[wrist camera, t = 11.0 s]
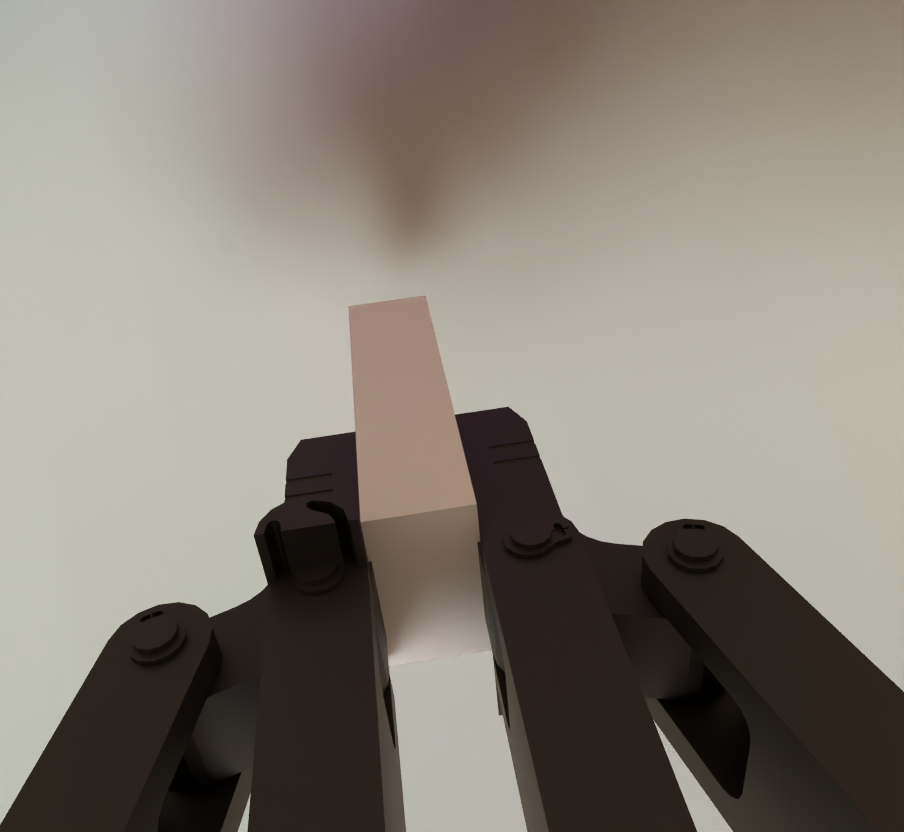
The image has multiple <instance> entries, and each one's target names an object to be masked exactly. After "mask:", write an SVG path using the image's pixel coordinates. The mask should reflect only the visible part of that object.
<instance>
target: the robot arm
mask: <svg viewBox="0 0 904 832" xmlns="http://www.w3.org/2000/svg"><path fill="white" fill-rule="evenodd" d="M349 321H350V339H351V358H352V376H353V394H354V413H355V431H356V432H351V433H344V434H337V435H331V436H324V437H317V438H311V439H304V440H301V441H300V442H299V444H298V445H297V447H296V448H295V449H294V451H293V452H292V454H291V455H290V457H289V458H288V459H287V473H286V483H287V484H286V488H285V502H284V503H283V504H281V505H279V506H277V507H276V508H274V509H272V510H271V511H270V512H269V513H268V514H267V515H266V516H265V517H264V518H263V519H262V520H261V521H260V522H259V524H258V526H257V529H256V531H255V534H254V538H255V541H256V545H257V548H258V552H259V555H260V558H261V562H262V565H263V569H264V572H265V575H266V579H267V582H268V585H267V586H266V587H265V589H264V590H263V591H261V592H260V593H259V594H257V595H256V596H255V597H253V598H252V599H251V600H249V601H247V602H245V603H243V604H241V605H239V606H237V607H235V608H232V609H230V610H227V611H225V612H222V613H220V614H218V615H215V616H213V617H210V618H209V617H208V614H207V613H206V612H204V611H203V610H201V609H200V608H199V607H197V606H196V605H191V604H185V603H180V602H177V603H169V604H162V605H157V606H155V607H152V608H150V609H147V610H145V611H142V612H140V613H138V614H136V615H135V616H134V617H132V618H131V619H129V620H128V621H126V622H125V623H124V624H122V625H121V626H120V627H119V628H118V629H117V631H116V632H115V633H114V634H113V635H112V637H111V638H110V639H109V640H108V642H107V644H106V645H105V647H104V649H103V650H102V652H101V654H100V656H99V657H98V659H97V661H96V662H95V664H94V666H93V668H92V669H91V671H90V673H89V674H88V676H87V678H86V679H85V681H84V683H83V685H82V686H81V688H80V690H79V691H78V693H77V695H76V697H75V698H74V700H73V702H72V703H71V705H70V707H69V709H68V710H67V712H66V714H65V715H64V717H63V719H62V720H61V722H60V724H59V726H58V727H57V729H56V731H55V732H54V734H53V736H52V738H51V739H50V741H49V743H48V744H47V746H46V748H45V750H44V751H43V753H42V755H41V756H40V758H39V760H38V761H37V763H36V765H35V767H34V768H33V770H32V772H31V773H30V775H29V777H28V779H27V780H26V782H25V784H24V785H23V787H22V789H21V791H20V792H19V794H18V796H17V797H16V799H15V801H14V802H13V804H12V806H11V808H10V809H9V811H8V813H7V814H6V816H5V818H4V820H3V821H2V823H1V825H0V832H238V829H239V826H240V823H241V820H242V817H243V814H244V811H245V808H246V805H247V802H248V799H249V796H250V793H251V797H250V809H249V822H248V832H406V826H405V815H404V804H403V792H402V781H401V769H400V758H399V747H398V735H397V724H396V712H395V701H394V694H393V689H392V684H391V679H390V674H389V667H391V666H397V665H403V664H409V663H415V662H421V661H427V660H433V659H439V658H445V657H451V656H457V655H463V654H469V653H475V652H481V651H487V650H491V648H492V652H493V659H494V669H495V680H496V690H497V700H498V710H499V715H503V718H504V722H505V727H506V732H507V737H508V741H509V746H510V751H511V756H512V760H513V765H514V770H515V774H516V779H517V784H518V789H519V793H520V798H521V803H522V808H523V812H524V817H525V822H526V826H527V831H528V832H697V830H696V828H695V825H694V823H693V820H692V818H691V815H690V813H689V810H688V807H687V805H686V802H685V800H684V797H683V795H682V792H681V790H680V787H679V785H678V782H677V779H676V777H675V774H674V772H673V769H672V767H671V764H670V762H669V759H668V756H667V754H666V751H665V749H664V746H663V744H662V741H661V739H660V736H659V734H658V731H657V728H656V726H655V723H654V721H655V722H656V724H657V725H658V727H659V728H660V729H661V731H662V732H663V734H664V735H665V736H666V738H667V739H668V741H669V742H670V743H671V745H672V746H673V748H674V749H675V750H676V752H677V753H678V755H679V756H680V757H681V759H682V760H683V762H684V763H685V764H686V766H687V767H688V769H689V770H690V771H691V773H692V774H693V776H694V777H695V778H696V780H697V781H698V783H699V784H700V785H701V787H702V788H703V790H704V791H705V792H706V794H707V795H708V797H709V798H710V799H711V801H712V802H713V804H714V805H715V806H716V808H717V809H718V811H719V812H720V813H721V815H722V816H723V818H724V819H725V820H726V822H727V823H728V825H729V826H730V828H731V829H732V830H733V832H904V692H903V691H902V690H901V689H900V688H899V687H898V686H897V685H896V684H895V683H894V682H893V681H892V680H890V679H889V678H888V677H887V676H886V675H885V674H884V673H883V672H882V671H881V670H880V669H879V668H878V667H877V666H876V665H874V664H873V663H872V662H871V661H870V660H869V659H868V658H867V657H866V656H865V655H864V654H863V653H862V652H861V651H860V650H859V649H857V648H856V647H855V646H854V645H853V644H852V643H851V642H850V641H849V640H848V639H847V638H846V637H845V636H844V635H843V634H842V633H840V632H839V631H838V630H837V629H836V628H835V627H834V626H833V625H832V624H831V623H830V622H829V621H828V620H827V619H826V618H825V617H823V616H822V615H821V614H820V613H819V612H818V611H817V610H816V609H815V608H814V607H813V606H812V605H811V604H810V603H809V602H808V601H806V600H805V599H804V598H803V597H802V596H801V595H800V594H799V593H798V592H797V591H796V590H795V589H794V588H793V587H792V586H791V585H789V584H788V583H787V582H786V581H785V580H784V579H783V578H782V577H781V576H780V575H779V574H778V573H777V572H776V571H775V570H774V569H772V568H771V567H770V566H769V565H768V564H767V563H766V562H765V561H764V560H763V559H762V558H761V557H760V556H759V555H758V554H757V553H755V552H754V551H753V550H752V549H751V548H750V547H749V546H748V545H747V544H746V543H745V542H744V541H743V540H742V539H741V538H739V537H738V536H737V535H735V534H734V533H732V532H731V531H729V530H728V529H726V528H725V527H723V526H721V525H717V524H714V523H711V522H708V521H705V520H694V519H680V520H675V521H670V522H665V523H663V524H662V525H660V526H658V527H656V528H654V529H653V530H651V531H650V533H649V534H648V536H647V537H646V538H645V540H644V541H643V546H637V545H624V544H614V543H607V542H601V541H598V540H595V539H592V538H589V537H586V536H585V535H583V534H581V533H579V531H578V530H577V528H576V527H575V526H574V524H573V523H572V522H571V521H570V520H568V519H566V518H565V517H563V515H562V513H561V511H560V508H559V505H558V503H557V500H556V497H555V495H554V492H553V490H552V487H551V484H550V482H549V479H548V476H547V474H546V471H545V468H544V466H543V463H542V461H541V459H540V456H539V453H538V450H537V447H536V445H535V444H534V440H533V437H532V434H531V432H530V429H529V426H528V424H527V421H525V420H524V419H523V418H522V417H520V416H519V415H518V414H517V413H515V412H514V411H513V410H512V409H510V408H509V407H504V408H497V409H491V410H484V411H477V412H471V413H464V414H457V415H455V414H454V410H453V406H452V402H451V398H450V394H449V390H448V386H447V382H446V378H445V373H444V369H443V365H442V361H441V357H440V353H439V349H438V345H437V341H436V337H435V333H434V329H433V325H432V321H431V317H430V313H429V309H428V305H427V300H426V296H419V297H412V298H405V299H398V300H391V301H384V302H377V303H370V304H363V305H355V306H349ZM653 719H654V721H653Z"/></svg>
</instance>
